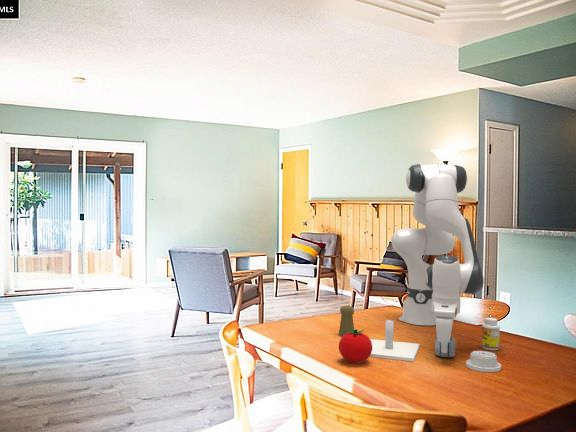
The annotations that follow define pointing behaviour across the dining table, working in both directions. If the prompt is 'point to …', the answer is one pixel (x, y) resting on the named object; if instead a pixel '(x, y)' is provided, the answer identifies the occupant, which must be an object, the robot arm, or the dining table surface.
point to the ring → (449, 348)
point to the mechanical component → (483, 362)
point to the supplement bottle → (490, 334)
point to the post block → (393, 347)
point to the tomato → (355, 346)
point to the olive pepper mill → (346, 320)
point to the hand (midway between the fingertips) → (444, 348)
